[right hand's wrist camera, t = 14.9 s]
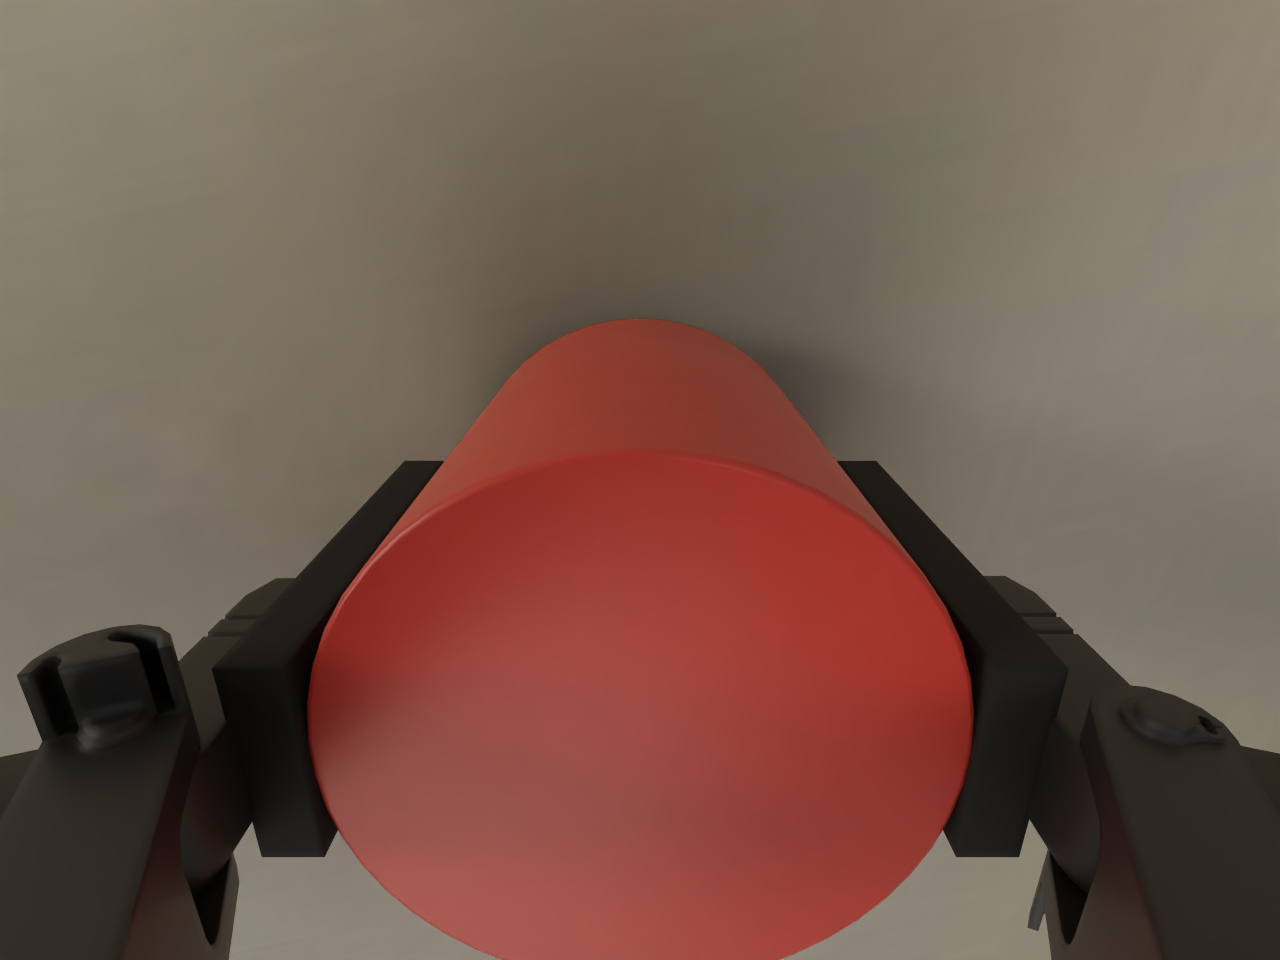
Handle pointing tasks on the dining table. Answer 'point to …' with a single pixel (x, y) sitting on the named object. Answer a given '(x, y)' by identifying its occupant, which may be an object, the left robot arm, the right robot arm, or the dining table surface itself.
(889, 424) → the dining table surface
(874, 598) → the canister
